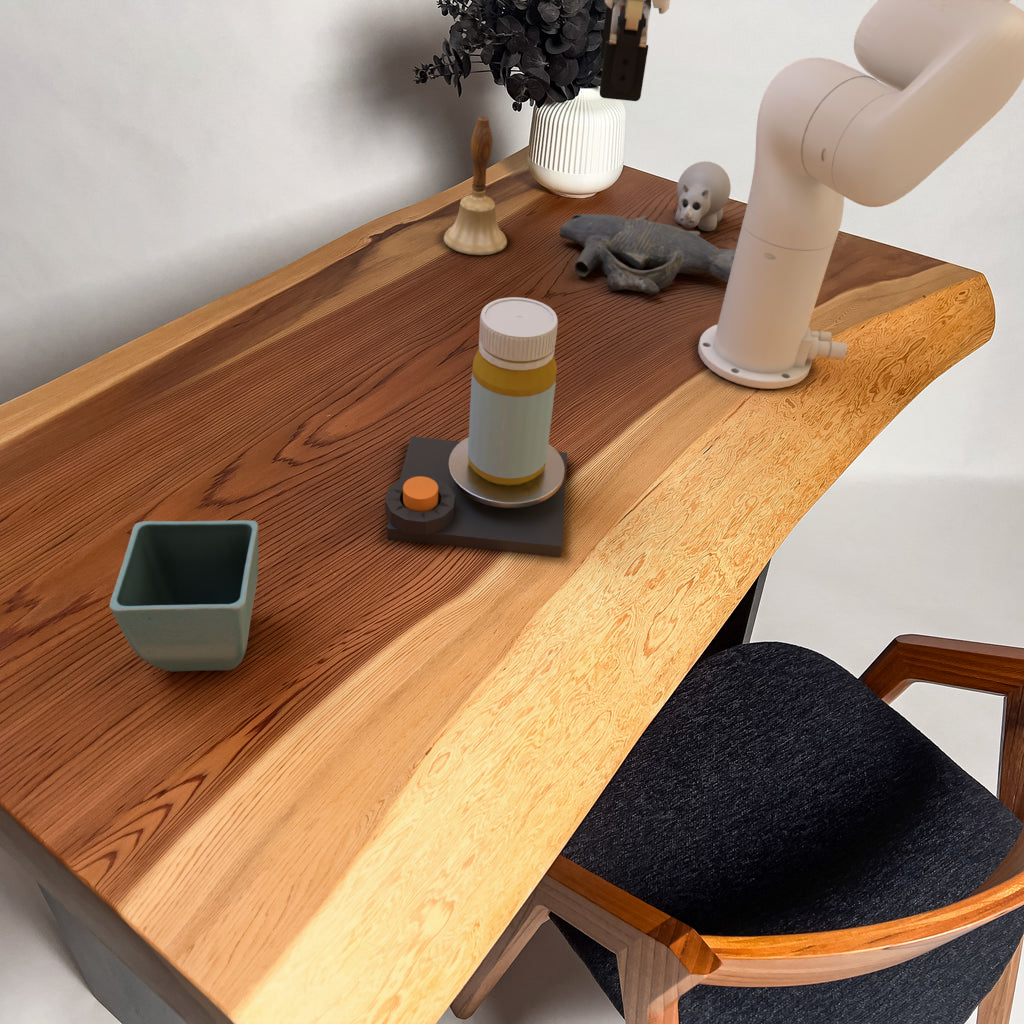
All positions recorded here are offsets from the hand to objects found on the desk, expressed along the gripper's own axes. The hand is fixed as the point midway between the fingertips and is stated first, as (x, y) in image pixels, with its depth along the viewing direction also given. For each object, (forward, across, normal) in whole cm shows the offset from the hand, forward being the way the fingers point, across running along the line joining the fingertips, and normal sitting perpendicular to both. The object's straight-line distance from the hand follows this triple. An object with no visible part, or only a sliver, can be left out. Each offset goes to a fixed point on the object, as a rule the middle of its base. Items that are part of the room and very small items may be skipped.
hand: (619, 78), depth 79 cm
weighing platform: (+29, -16, +6) cm, 34 cm away
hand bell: (+32, +34, +14) cm, 49 cm away
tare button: (+30, -21, +13) cm, 39 cm away
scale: (+32, -17, +8) cm, 37 cm away
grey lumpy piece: (+32, +30, -8) cm, 45 cm away
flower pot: (+32, -37, +27) cm, 56 cm away
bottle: (+29, -16, +6) cm, 34 cm away
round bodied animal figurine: (+32, +44, -15) cm, 57 cm away
